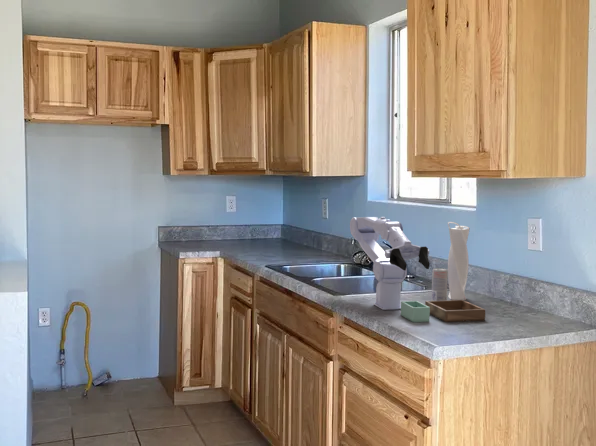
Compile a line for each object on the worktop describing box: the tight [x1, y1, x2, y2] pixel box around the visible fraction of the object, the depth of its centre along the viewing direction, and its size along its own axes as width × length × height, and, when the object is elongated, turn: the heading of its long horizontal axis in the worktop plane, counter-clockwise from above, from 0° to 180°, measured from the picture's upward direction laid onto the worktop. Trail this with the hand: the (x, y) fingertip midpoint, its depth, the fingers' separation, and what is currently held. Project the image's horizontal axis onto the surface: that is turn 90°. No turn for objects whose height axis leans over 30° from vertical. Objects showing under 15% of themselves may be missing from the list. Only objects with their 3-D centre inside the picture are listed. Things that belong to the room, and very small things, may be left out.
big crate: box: [424, 299, 486, 323], centre depth 221 cm, size 15×13×4 cm
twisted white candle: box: [447, 221, 470, 301], centre depth 249 cm, size 8×7×28 cm
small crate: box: [400, 300, 430, 323], centre depth 217 cm, size 10×6×4 cm, turn 13°
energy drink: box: [430, 267, 449, 301], centre depth 241 cm, size 5×5×12 cm
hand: (416, 267), depth 212 cm, fingers open, 7 cm apart
